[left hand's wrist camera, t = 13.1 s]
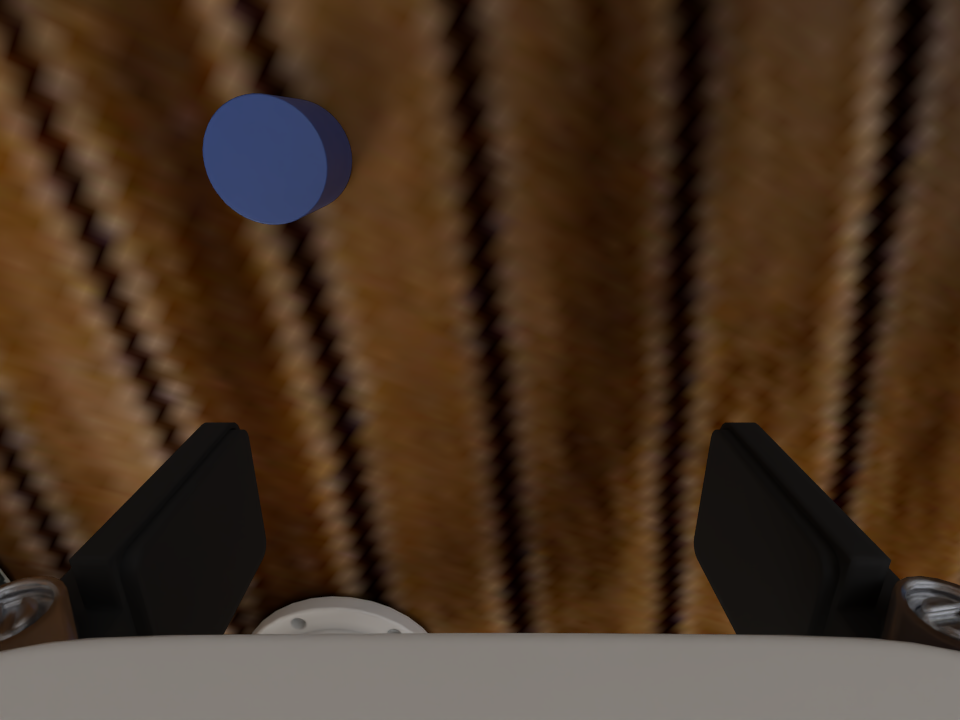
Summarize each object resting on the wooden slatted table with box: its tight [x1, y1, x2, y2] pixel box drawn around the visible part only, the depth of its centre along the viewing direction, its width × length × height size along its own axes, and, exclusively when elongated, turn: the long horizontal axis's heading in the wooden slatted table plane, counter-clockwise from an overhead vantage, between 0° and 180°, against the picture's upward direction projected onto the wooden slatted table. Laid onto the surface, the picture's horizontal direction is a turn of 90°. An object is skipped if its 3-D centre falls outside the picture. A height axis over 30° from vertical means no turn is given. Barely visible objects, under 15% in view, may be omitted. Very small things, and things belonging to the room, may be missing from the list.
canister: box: [203, 93, 352, 225], centre depth 22 cm, size 4×4×4 cm
